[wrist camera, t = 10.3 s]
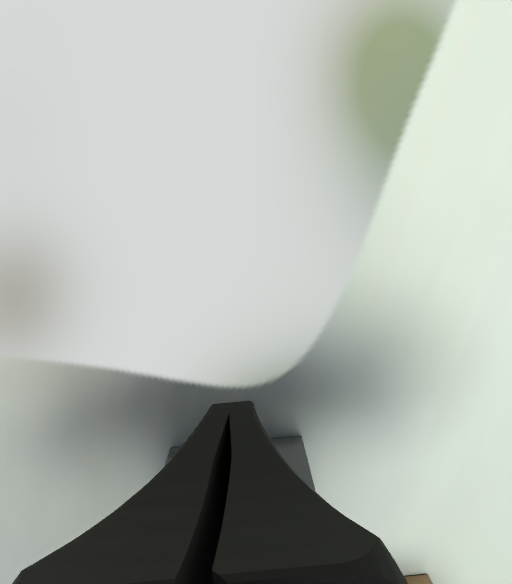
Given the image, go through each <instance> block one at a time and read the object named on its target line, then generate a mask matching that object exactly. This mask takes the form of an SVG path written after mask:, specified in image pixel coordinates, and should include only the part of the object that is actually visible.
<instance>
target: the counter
mask: <svg viewBox="0 0 512 584" xmlns="http://www.w3.org/2000/svg"><path fill="white" fill-rule="evenodd" d="M405 579H406V581H407V583H408V584H432V582H431V580H430V578H429V576H428V574H427V575H417V576H406V577H405Z"/></svg>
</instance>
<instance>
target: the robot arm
mask: <svg viewBox="0 0 512 584" xmlns="http://www.w3.org/2000/svg"><path fill="white" fill-rule="evenodd" d="M13 584H408V583H407V581H406V579H405V578H404V576H403V574H402V572H401V571H400V569H399V567H398V566H397V564H396V562H395V561H394V559H393V557H392V556H391V554H390V553H389V551H388V550H387V548H386V546H385V545H384V543H383V542H382V541H381V539H380V538H379V537H377V536H376V535H374V534H373V533H371V532H369V531H368V530H366V529H365V528H363V527H361V526H360V525H358V524H357V523H355V522H353V521H352V520H350V519H349V518H347V517H345V516H344V515H343V514H341V513H340V512H339V511H337V510H336V509H335V508H333V507H332V506H331V505H330V504H328V503H327V502H326V501H325V500H324V499H323V498H322V497H320V496H319V495H318V494H317V493H316V492H315V491H314V490H312V489H311V488H310V487H309V486H308V485H307V484H306V483H305V482H304V481H303V480H302V479H301V478H300V477H299V476H298V475H297V474H296V473H295V471H294V470H293V469H292V468H291V467H290V466H289V465H288V463H287V462H286V461H285V460H284V458H283V457H282V456H281V455H280V453H279V452H278V450H277V449H276V448H275V446H274V445H273V443H272V442H271V440H270V439H269V437H268V435H267V434H266V432H265V430H264V429H263V427H262V425H261V423H260V421H259V419H258V417H257V414H256V412H255V408H254V404H253V403H252V402H251V401H244V402H233V403H222V404H213V405H212V406H211V407H210V408H209V410H208V411H207V413H206V414H205V416H204V417H203V419H202V420H201V422H200V423H199V425H198V426H197V428H196V429H195V430H194V432H193V433H192V434H191V436H190V437H189V438H188V440H187V441H186V442H185V443H184V445H183V446H182V447H181V448H180V450H179V451H178V452H177V453H176V454H175V455H174V457H173V458H172V459H171V460H170V461H169V462H168V464H167V465H166V466H165V467H164V468H163V469H162V470H161V471H160V472H159V473H158V474H157V475H156V476H155V477H154V478H153V479H152V480H151V481H150V482H149V483H148V484H147V485H145V486H144V487H143V488H142V489H141V490H140V491H139V492H137V493H136V494H135V495H134V496H132V497H131V498H130V499H129V500H128V501H126V502H125V503H124V504H123V505H122V506H120V507H119V508H118V509H117V510H115V511H114V512H113V513H111V514H110V515H109V516H107V517H106V518H105V519H103V520H102V521H101V522H99V523H98V524H96V525H95V526H93V527H92V528H91V529H89V530H88V531H86V532H85V533H83V534H82V535H80V536H79V537H77V538H76V539H74V540H73V541H71V542H69V543H68V544H66V545H65V546H63V547H61V548H60V549H58V550H56V551H54V552H53V553H51V554H49V555H48V556H46V557H44V558H43V559H41V560H39V561H38V562H36V563H34V564H33V565H31V566H29V567H27V568H26V569H24V570H22V571H21V572H20V574H19V575H18V577H17V578H16V579H15V581H14V582H13Z"/></svg>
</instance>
